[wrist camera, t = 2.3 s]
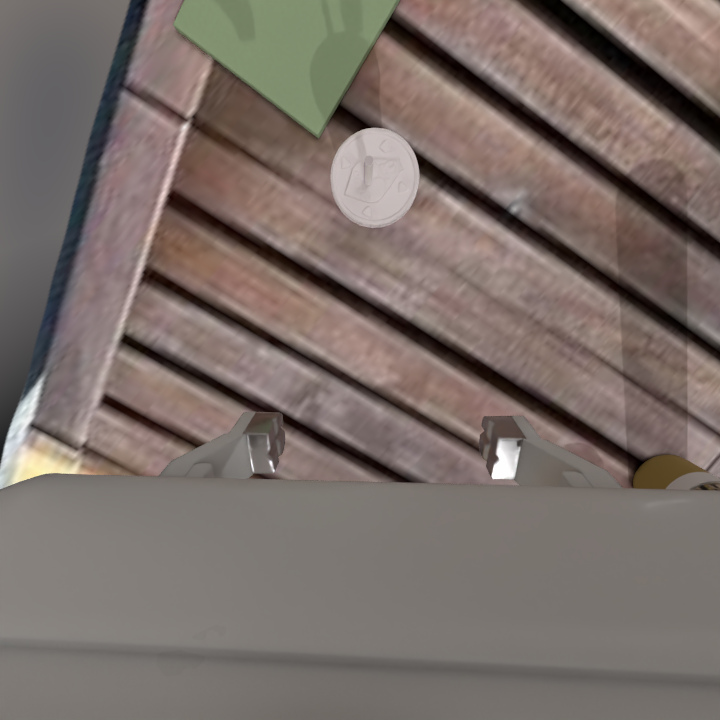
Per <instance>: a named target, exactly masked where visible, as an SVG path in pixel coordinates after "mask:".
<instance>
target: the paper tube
mask: <svg viewBox="0 0 720 720" xmlns="http://www.w3.org/2000/svg"><path fill="white" fill-rule="evenodd" d="M633 488H635V489H675V490H715V491H720V478H718V477H716V476H715V475H713V474H711V473H709V472H707V471H705V470H703V469H702V468H700V467H698V466H696V465H695V464H693V463H691V462H689V461H687V460H686V459H684V458H682V457H679V456H676V455H659V456H656V457H653V458H651V459H649V460H647V461H646V462H644V463H643V464H642V465H641V466H640V467H639V468H638V470H637V471H636V473H635V475H634V479H633Z"/></svg>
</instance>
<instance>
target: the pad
mask: <svg viewBox="0 0 720 720" xmlns="http://www.w3.org/2000/svg"><path fill="white" fill-rule="evenodd" d="M399 1H400V0H184V2H183V4H182V6H181V9H180V11H179V13H178V15H177V17H176V19H175V22H174V24H173V25H174V27H175V28H176V30H177V31H178V32H179V33H181V34H182V35H183V36H185V37H186V38H187V39H189V40H190V41H191V42H193V43H194V44H195V45H196V46H198V47H199V48H200V49H202V50H203V51H204V52H206V53H207V54H208V55H210V56H211V57H212V58H214V59H215V60H216V61H217V62H219V63H220V64H221V65H223V66H224V67H225V68H227V69H228V70H229V71H231V72H232V73H233V74H234V75H236V76H237V77H238V78H240V79H241V80H242V81H244V82H245V83H246V84H248V85H249V86H250V87H252V88H253V89H254V90H255V91H257V92H258V93H259V94H261V95H262V96H263V97H265V98H266V99H267V100H269V101H270V102H271V103H272V104H274V105H275V106H276V107H278V108H279V109H280V110H282V111H283V112H284V113H286V114H287V115H288V116H290V117H291V118H292V119H293V120H295V121H296V122H297V123H299V124H300V125H301V126H303V127H304V128H305V129H307V130H308V131H309V132H311V133H312V134H313V135H314V136H316V137H317V138H319V137H320V136H321V134H322V132H323V131H324V129H325V127H326V125H327V124H328V122H329V120H330V119H331V117H332V115H333V114H334V112H335V110H336V108H337V107H338V105H339V103H340V102H341V100H342V98H343V97H344V95H345V93H346V91H347V90H348V88H349V86H350V85H351V83H352V81H353V80H354V78H355V76H356V74H357V73H358V71H359V69H360V68H361V66H362V64H363V63H364V61H365V59H366V57H367V56H368V54H369V52H370V51H371V49H372V47H373V45H374V44H375V42H376V40H377V39H378V37H379V35H380V34H381V32H382V30H383V28H384V27H385V25H386V23H387V22H388V20H389V18H390V17H391V15H392V13H393V11H394V10H395V8H396V6H397V5H398V3H399Z"/></svg>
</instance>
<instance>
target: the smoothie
mask: <svg viewBox="0 0 720 720" xmlns="http://www.w3.org/2000/svg"><path fill="white" fill-rule="evenodd" d="M418 185H419V167H418V162H417V159H416V156H415V154H414V152H413V150H412V148H411V147H410V146H409V144H408V143H407V142H406V141H405V140H404V139H403V138H402V137H401V136H399V135H398V134H396V133H394V132H392V131H390V130H387V129H383V128H368V129H364V130H361V131H358V132H356V133H355V134H353V135H351V136H350V137H349V138H348V139H347V140H346V141H344V143H343V144H342V145H341V146H340V148H339V149H338V151H337V153H336V155H335V157H334V160H333V163H332V167H331V188H332V193H333V196H334V199H335V202H336V204H337V205H338V207H339V209H340V210H341V212H342V213H343V214H344V215H345V216H346V217H347V218H348V219H350V220H351V221H353V222H354V223H356V224H358V225H360V226H364V227H369V228H378V227H384V226H387V225H390V224H393V223H394V222H396V221H397V220H399V219H400V218H401V217H403V216H404V214H405V213H406V212H407V211H408V210H409V208H410V207H411V205H412V203H413V201H414V199H415V197H416V193H417V190H418Z"/></svg>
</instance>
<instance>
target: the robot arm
mask: <svg viewBox="0 0 720 720" xmlns="http://www.w3.org/2000/svg"><path fill="white" fill-rule="evenodd" d="M282 424H283V417H282V414H281V413H268V412H244V413H243V414H242V415H241V417H240V418H239V420H238V421H237V423H236V424H235V425H234V427H233V428H232V430H231V431H230V433H229V434H224V435H222V436H220V437H218V438H216V439H214V440H212V441H210V442H208V443H206V444H204V445H202V446H200V447H198V448H196V449H194V450H192V451H190V452H188V453H186V454H184V455H182V456H180V457H178V458H176V459H175V460H173V461H171V462H170V463H169V464H168V465H167V467H166V468H165V469H164V470H163V471H162V472H161V474H160V475H159V476H121V475H82V474H60V473H52V474H44V475H40V476H36V477H33V478H30V479H27V480H24V481H21V482H18V483H16V484H13V485H11V486H8V487H5V488H3V489H0V720H720V491H715V490H675V489H635V488H623V487H622V486H621V485H620V484H619V483H618V482H617V481H616V480H615V479H614V477H613V476H612V475H611V474H610V473H609V472H608V471H606V470H604V469H602V468H600V467H598V466H596V465H594V464H592V463H591V462H589V461H587V460H585V459H583V458H581V457H579V456H577V455H575V454H573V453H571V452H569V451H567V450H565V449H563V448H561V447H559V446H557V445H555V444H554V443H552V442H550V441H548V440H542V439H541V438H540V436H539V435H538V434H537V432H536V431H535V430H534V428H533V427H532V426H531V424H530V423H529V422H528V420H527V419H526V418H525V417H524V416H484V417H483V420H482V427H483V429H484V432H483V433H482V434H481V435H480V441H479V445H480V452H481V456H482V458H483V459H484V460H486V461H487V464H486V467H487V469H488V472H489V474H490V476H491V479H510V480H515V481H516V482H517V483H518V484H519V485H520V486H518V485H478V484H438V483H398V482H358V481H318V480H278V479H248V478H249V477H250V476H251V475H253V474H252V473H274V472H275V470H276V467H277V465H278V463H279V459H278V457H279V456H280V455H282V453H283V450H284V445H285V432H284V430H283V429H282V428H281V426H282Z"/></svg>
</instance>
